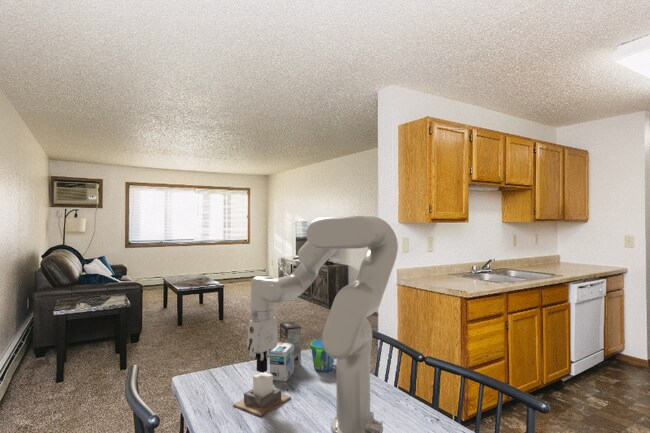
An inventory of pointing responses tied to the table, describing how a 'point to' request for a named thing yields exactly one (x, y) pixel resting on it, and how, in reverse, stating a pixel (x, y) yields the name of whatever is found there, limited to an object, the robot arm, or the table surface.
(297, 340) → the coffee box
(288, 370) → the light bulb box
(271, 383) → the off-white rectangular box
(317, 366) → the snack cup
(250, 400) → the socket
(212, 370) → the table surface
